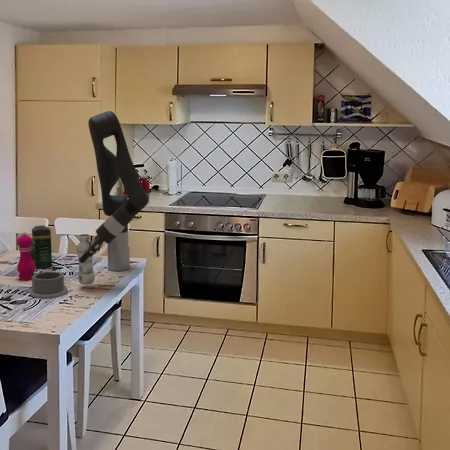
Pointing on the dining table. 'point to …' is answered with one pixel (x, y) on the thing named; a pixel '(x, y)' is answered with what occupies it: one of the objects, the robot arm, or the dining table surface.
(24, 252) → the pepper mill
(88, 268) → the plastic bottle
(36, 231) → the coffee jar
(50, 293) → the bottle holder
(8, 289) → the dining table surface
